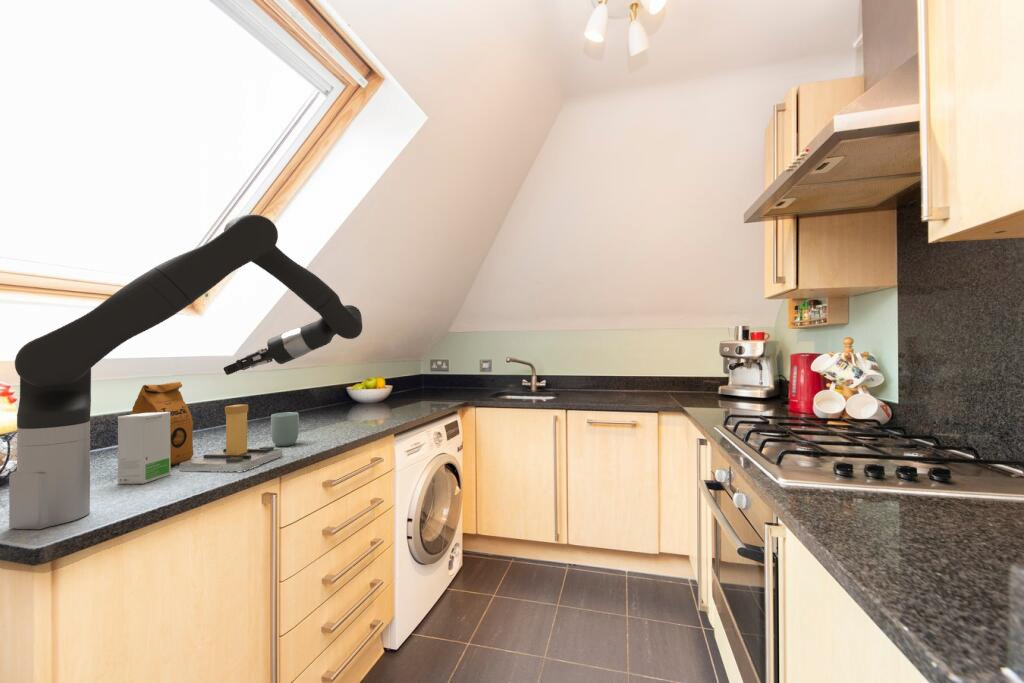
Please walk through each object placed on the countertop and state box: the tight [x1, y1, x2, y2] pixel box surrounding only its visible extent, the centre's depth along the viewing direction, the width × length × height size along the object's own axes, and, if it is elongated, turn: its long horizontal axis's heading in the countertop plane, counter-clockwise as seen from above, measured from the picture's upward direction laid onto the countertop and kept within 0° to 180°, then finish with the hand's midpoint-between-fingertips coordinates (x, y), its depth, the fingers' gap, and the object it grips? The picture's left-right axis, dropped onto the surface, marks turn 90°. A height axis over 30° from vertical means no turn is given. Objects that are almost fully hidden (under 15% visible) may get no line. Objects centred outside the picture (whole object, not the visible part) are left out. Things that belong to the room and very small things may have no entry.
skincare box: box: [117, 412, 172, 485], centre depth 104 cm, size 8×7×16 cm
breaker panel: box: [179, 446, 283, 473], centre depth 118 cm, size 16×17×3 cm
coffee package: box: [131, 381, 194, 466], centre depth 117 cm, size 10×12×22 cm
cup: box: [270, 411, 300, 447], centre depth 140 cm, size 8×8×10 cm
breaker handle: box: [224, 404, 249, 455], centre depth 119 cm, size 4×3×13 cm
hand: (233, 369), depth 118 cm, fingers open, 8 cm apart
